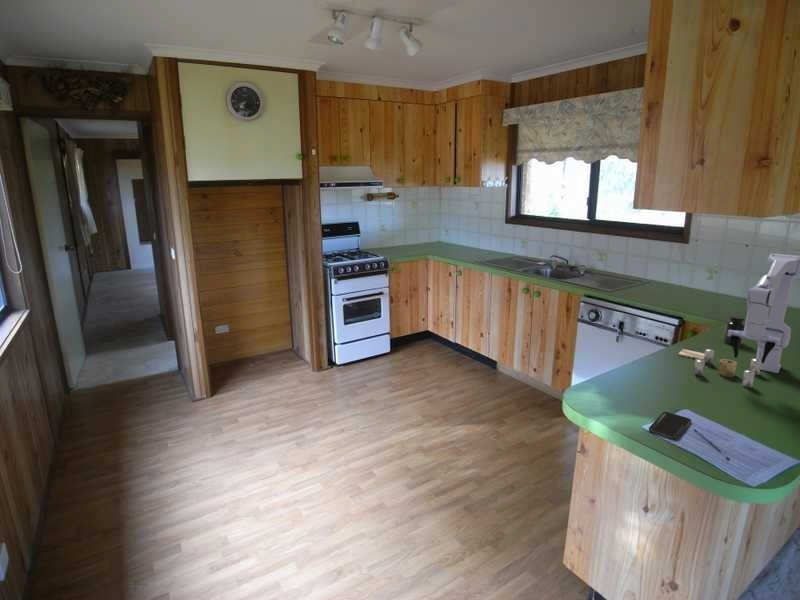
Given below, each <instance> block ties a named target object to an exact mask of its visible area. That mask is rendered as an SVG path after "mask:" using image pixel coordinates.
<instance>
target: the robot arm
mask: <svg viewBox="0 0 800 600" xmlns="http://www.w3.org/2000/svg"><path fill="white" fill-rule="evenodd" d="M766 261H767V262H766V268H767V270H768V273H767V274H764V275H763V276H762V277H761V278H760V279H759V281H757V283H756V285H755V286H753V287H752V288H751V287H750V288H749V290H748V292H747V294H746V295H747V296H746V309H747V311H746V317H745V321H744V322H745V324H744V325H745V328H744V331H736V330H728V335H727V336H730V337H731V338H730V341H731V343H732V349H733V354H734V356H733V357H734V358H736V359H738V357H739V350H740V349H739V348H740V345H739V344H740V339H741V338H743V339H746V340H751V341H755V342H756V343H757V344H756V345H757V351H756V357H755V358H757V359H760V360H762V361H761V367H760V371H766V372H770V373H775V374H779V372H780V370H781V367H782V365H781V364H780V362H781V357H782V353H783V349H785V348H787V347H788V345H789V344H790V341H791V333H792V328H791V327H790V326H789V325H788V324H786V323H785V322H784V321H785V316H786V311H787V307H788V305H789V304H788V303H789V299H790V295H791V291H792V286H793V283H794V282H795V280H796V279H800V255H793V254H783V253H781V254H780V253H774V252H772V253H770V255H768V258H767V260H766Z"/></svg>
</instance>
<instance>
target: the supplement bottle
mask: <svg viewBox="0 0 800 600" xmlns="http://www.w3.org/2000/svg"><path fill="white" fill-rule="evenodd" d="M744 320H745V318H744V316H738V315H731V316H730V318H729V321H727V323H726V325H725V330H724V334H723V335H724V336H723V342H724V343H725V344H727V345H732V343H731V341H730V338H731V337H730V336H727V335H728V330H736V331H744V328H745V324H744V322H745V321H744ZM743 340H744V338H741V339H740V344H739V346H741V345H742V344H743ZM732 346H733V345H732Z"/></svg>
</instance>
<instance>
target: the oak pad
mask: <svg viewBox="0 0 800 600" xmlns="http://www.w3.org/2000/svg"><path fill="white" fill-rule="evenodd" d="M704 354H705V352H704V353H703V352H699V351H694V350H690V349H689V350H688V349H683V348H682V350H680V351H679V352H678V354H677V356H680V357H683V356H684V357H685V358H688V357H689V358H688V359H693V358H695V359H694V360H696V359H700V360H704Z"/></svg>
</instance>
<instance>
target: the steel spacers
mask: <svg viewBox="0 0 800 600" xmlns="http://www.w3.org/2000/svg"><path fill="white" fill-rule="evenodd" d="M714 354H715V350H714V349H711V348H705V349H704V360H700V359H694V360H695V362H694V368H693V372H692V373H693V375H694V376H696V375H697V376H696V377H703V376H704V370H705V365H709V366H711V365H713V360H714V356H715V355H714ZM761 361H762V360H760V359H757V358H756V357H752V358H751V359H750V364H749V365H750V367H749V369H745V370H744V371H743V376H742V381H741V386H742V387H744V388H748V389H752V388H753V384H754V379H755V376H759V375H760V372H761V370H760V367H761Z"/></svg>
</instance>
